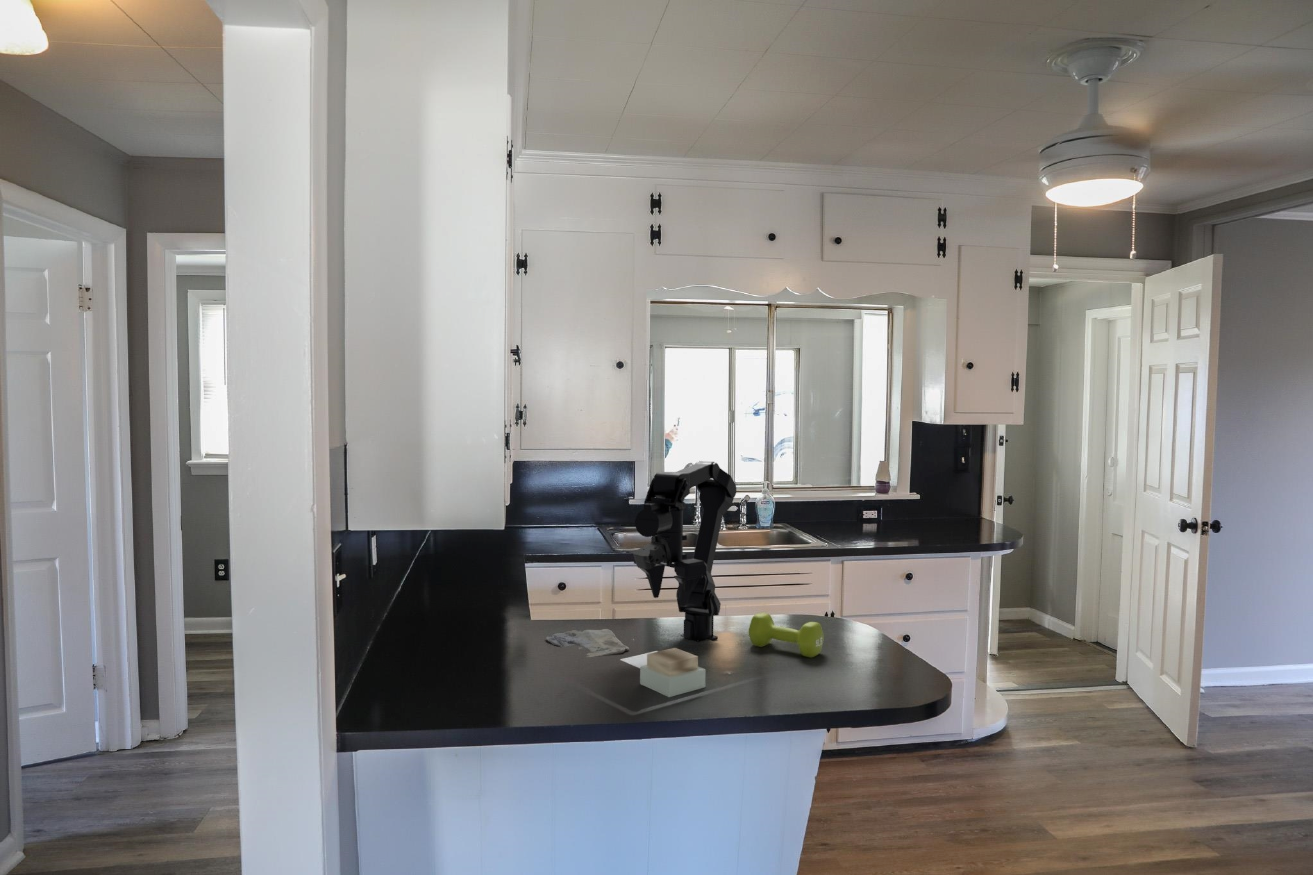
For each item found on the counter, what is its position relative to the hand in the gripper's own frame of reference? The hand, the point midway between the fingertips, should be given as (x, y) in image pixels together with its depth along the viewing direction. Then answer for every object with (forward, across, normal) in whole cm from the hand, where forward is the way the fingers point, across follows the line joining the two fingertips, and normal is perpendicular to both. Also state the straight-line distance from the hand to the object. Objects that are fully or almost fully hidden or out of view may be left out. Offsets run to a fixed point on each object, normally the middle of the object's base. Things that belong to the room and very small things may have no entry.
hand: (669, 601), depth 181 cm
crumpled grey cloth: (+13, -16, -10) cm, 23 cm away
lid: (+8, +16, -12) cm, 21 cm away
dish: (+12, +16, -12) cm, 23 cm away
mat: (+12, +2, -6) cm, 14 cm away
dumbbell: (+12, +12, +24) cm, 30 cm away
